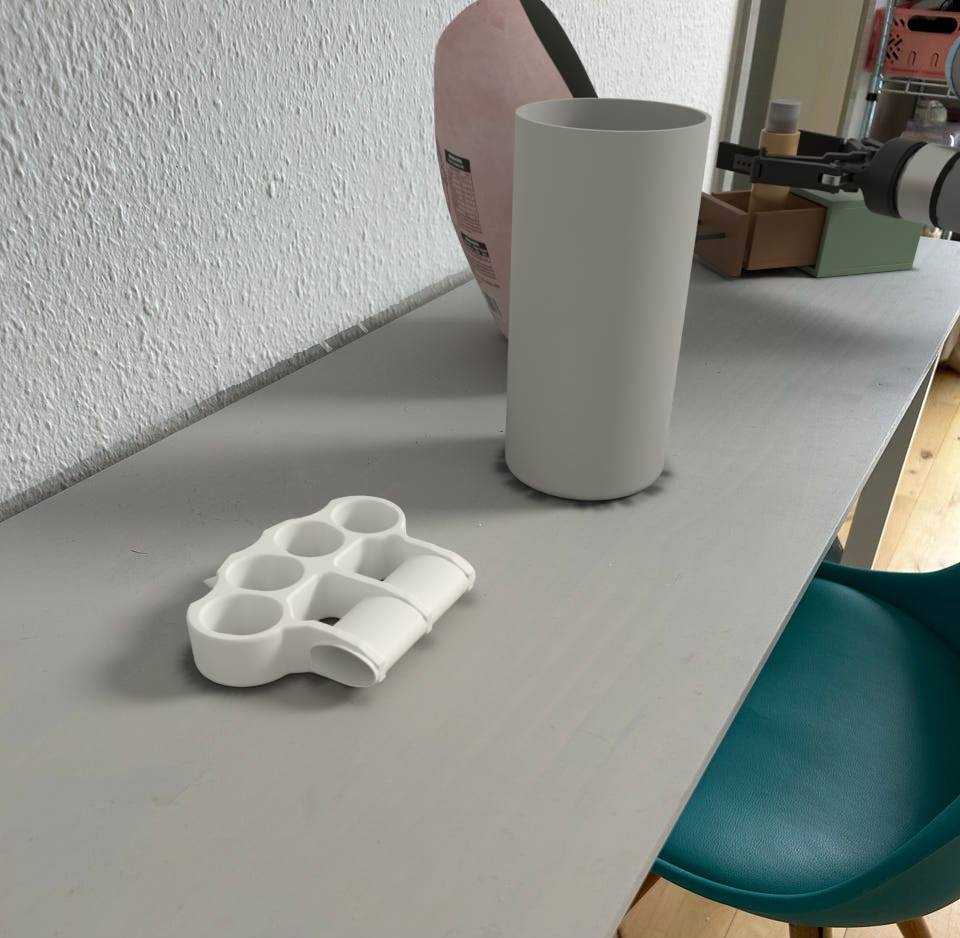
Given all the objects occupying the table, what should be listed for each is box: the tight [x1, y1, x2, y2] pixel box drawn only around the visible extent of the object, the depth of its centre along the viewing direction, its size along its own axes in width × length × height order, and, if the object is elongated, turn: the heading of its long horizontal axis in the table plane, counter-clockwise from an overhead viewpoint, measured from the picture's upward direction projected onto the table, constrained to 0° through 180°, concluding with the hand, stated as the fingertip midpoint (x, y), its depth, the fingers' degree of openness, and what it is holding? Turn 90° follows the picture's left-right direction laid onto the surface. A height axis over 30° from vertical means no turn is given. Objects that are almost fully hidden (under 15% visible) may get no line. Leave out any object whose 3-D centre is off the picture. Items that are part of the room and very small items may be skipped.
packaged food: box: [433, 0, 599, 340], centre depth 89 cm, size 22×20×30 cm
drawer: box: [693, 189, 828, 277], centre depth 119 cm, size 17×12×7 cm
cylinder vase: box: [504, 97, 713, 501], centre depth 71 cm, size 12×12×25 cm
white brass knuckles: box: [185, 495, 477, 688], centre depth 61 cm, size 3×18×15 cm
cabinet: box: [789, 187, 925, 279], centre depth 123 cm, size 14×14×9 cm
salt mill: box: [745, 98, 802, 250], centre depth 117 cm, size 4×4×16 cm
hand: (758, 147), depth 117 cm, fingers open, 13 cm apart
